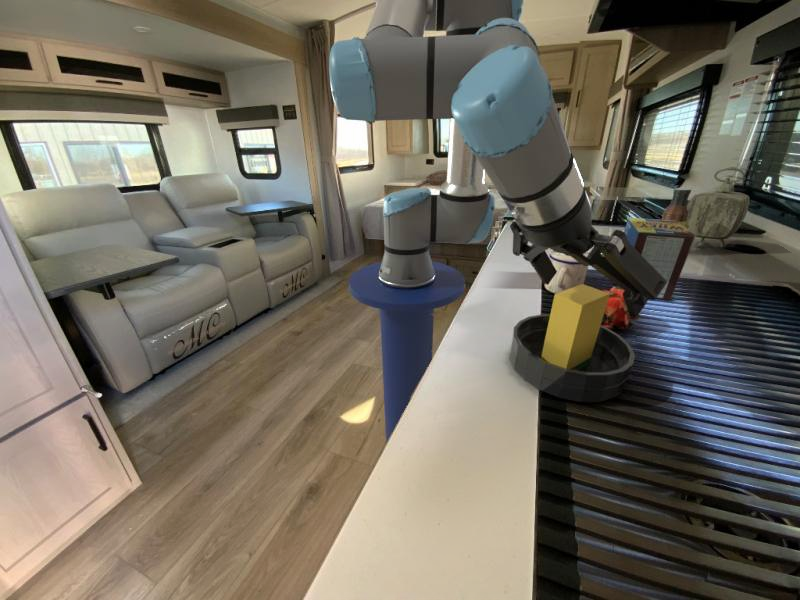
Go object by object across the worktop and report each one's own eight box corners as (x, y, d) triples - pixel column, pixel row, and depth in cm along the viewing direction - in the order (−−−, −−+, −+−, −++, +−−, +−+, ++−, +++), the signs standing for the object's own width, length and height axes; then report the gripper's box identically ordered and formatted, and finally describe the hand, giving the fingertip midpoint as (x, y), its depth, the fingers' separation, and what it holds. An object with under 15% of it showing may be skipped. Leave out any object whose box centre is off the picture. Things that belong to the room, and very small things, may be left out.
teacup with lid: (548, 279, 89) (556, 237, 84) (585, 286, 84) (596, 242, 79) (535, 295, 80) (544, 249, 75) (576, 304, 75) (589, 256, 70)
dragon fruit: (621, 321, 71) (599, 350, 65) (592, 292, 73) (567, 317, 67) (658, 302, 64) (637, 332, 58) (624, 270, 66) (601, 296, 60)
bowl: (528, 330, 66) (532, 305, 63) (629, 361, 56) (639, 333, 54) (493, 375, 54) (497, 346, 51) (615, 424, 44) (627, 392, 42)
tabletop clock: (731, 248, 111) (766, 168, 100) (725, 254, 106) (762, 170, 94) (678, 239, 121) (705, 166, 110) (671, 244, 116) (698, 167, 104)
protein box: (656, 277, 89) (676, 220, 82) (671, 301, 76) (696, 235, 69) (611, 272, 93) (627, 216, 86) (618, 293, 80) (638, 230, 73)
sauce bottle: (678, 252, 107) (702, 189, 99) (671, 256, 104) (695, 191, 95) (654, 248, 112) (675, 186, 103) (647, 251, 109) (668, 188, 100)
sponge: (539, 364, 55) (554, 294, 49) (565, 351, 58) (582, 283, 52) (563, 379, 52) (582, 305, 46) (589, 364, 55) (610, 293, 49)
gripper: (452, 210, 46) (510, 284, 60) (654, 260, 27) (671, 351, 41) (483, 166, 46) (534, 250, 60) (706, 186, 27) (705, 302, 41)
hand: (590, 291), depth 50 cm, fingers open, 13 cm apart
